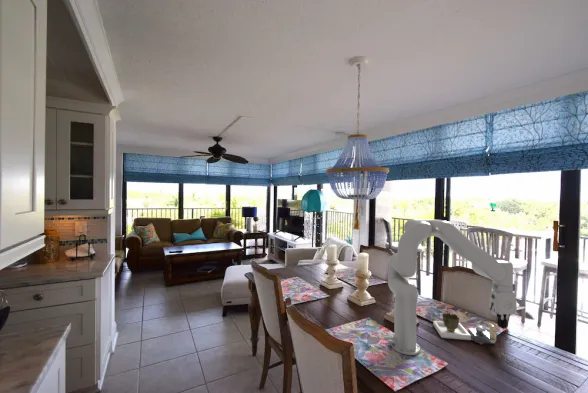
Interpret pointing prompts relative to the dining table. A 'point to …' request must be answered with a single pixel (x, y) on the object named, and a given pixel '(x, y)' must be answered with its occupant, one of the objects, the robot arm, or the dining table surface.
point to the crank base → (478, 336)
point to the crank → (490, 337)
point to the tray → (458, 334)
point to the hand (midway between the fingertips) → (502, 327)
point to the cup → (450, 321)
